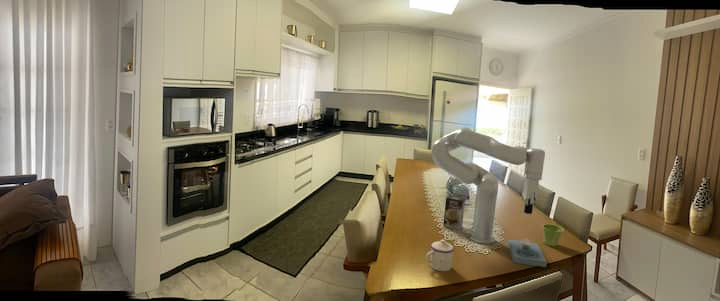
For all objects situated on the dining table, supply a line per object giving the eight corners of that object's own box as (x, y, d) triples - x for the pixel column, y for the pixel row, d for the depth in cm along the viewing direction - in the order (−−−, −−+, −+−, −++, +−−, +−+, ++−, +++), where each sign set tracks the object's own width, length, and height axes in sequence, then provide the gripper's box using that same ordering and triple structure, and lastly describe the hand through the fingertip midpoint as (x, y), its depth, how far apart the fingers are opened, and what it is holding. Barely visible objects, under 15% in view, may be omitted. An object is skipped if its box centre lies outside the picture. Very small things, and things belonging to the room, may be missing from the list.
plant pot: (558, 250, 181) (561, 232, 179) (537, 244, 186) (540, 227, 185) (562, 244, 188) (565, 227, 187) (542, 238, 194) (544, 222, 192)
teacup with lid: (443, 260, 163) (445, 234, 161) (456, 270, 155) (459, 243, 153) (419, 264, 159) (421, 237, 156) (431, 274, 150) (434, 247, 148)
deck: (507, 244, 184) (508, 239, 184) (536, 248, 181) (536, 243, 181) (513, 262, 165) (514, 256, 165) (546, 267, 162) (546, 261, 162)
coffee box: (442, 226, 203) (445, 197, 200) (445, 222, 208) (448, 194, 205) (459, 230, 199) (462, 200, 196) (462, 226, 204) (465, 197, 201)
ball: (521, 249, 173) (522, 240, 172) (519, 245, 177) (520, 236, 176) (531, 250, 172) (532, 241, 171) (529, 246, 176) (530, 237, 175)
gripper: (521, 171, 184) (516, 207, 187) (527, 178, 170) (522, 217, 173) (538, 172, 182) (533, 209, 185) (545, 180, 168) (539, 219, 171)
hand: (527, 213), depth 179 cm, fingers closed
